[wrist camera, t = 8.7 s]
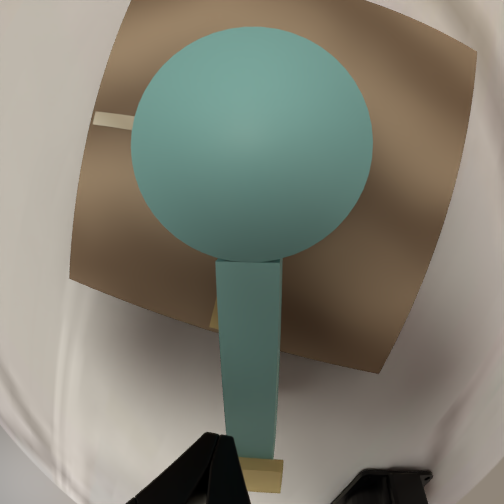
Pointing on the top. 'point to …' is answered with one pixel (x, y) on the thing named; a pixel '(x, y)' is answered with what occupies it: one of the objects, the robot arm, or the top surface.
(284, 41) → the teal scoop
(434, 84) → the brown wooden flat board
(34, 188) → the top surface
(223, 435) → the robot arm
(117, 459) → the top surface
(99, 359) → the top surface
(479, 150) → the top surface
